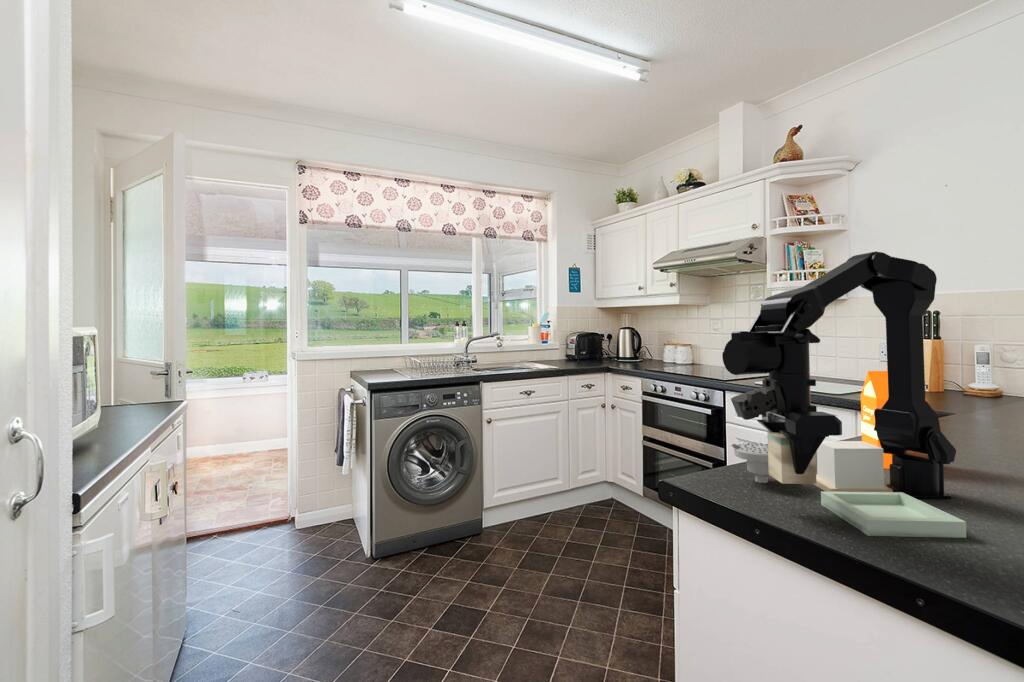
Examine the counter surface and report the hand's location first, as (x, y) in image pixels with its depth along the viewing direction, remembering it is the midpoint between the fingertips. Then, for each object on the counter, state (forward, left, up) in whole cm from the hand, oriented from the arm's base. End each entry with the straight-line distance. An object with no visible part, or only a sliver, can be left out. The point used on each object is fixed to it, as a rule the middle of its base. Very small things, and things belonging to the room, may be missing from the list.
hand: (791, 469), depth 76 cm
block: (0, 0, -2) cm, 2 cm away
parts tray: (-12, +3, -7) cm, 14 cm away
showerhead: (-1, -16, -7) cm, 17 cm away
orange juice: (-33, -29, -7) cm, 45 cm away
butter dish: (-15, -13, -7) cm, 21 cm away
